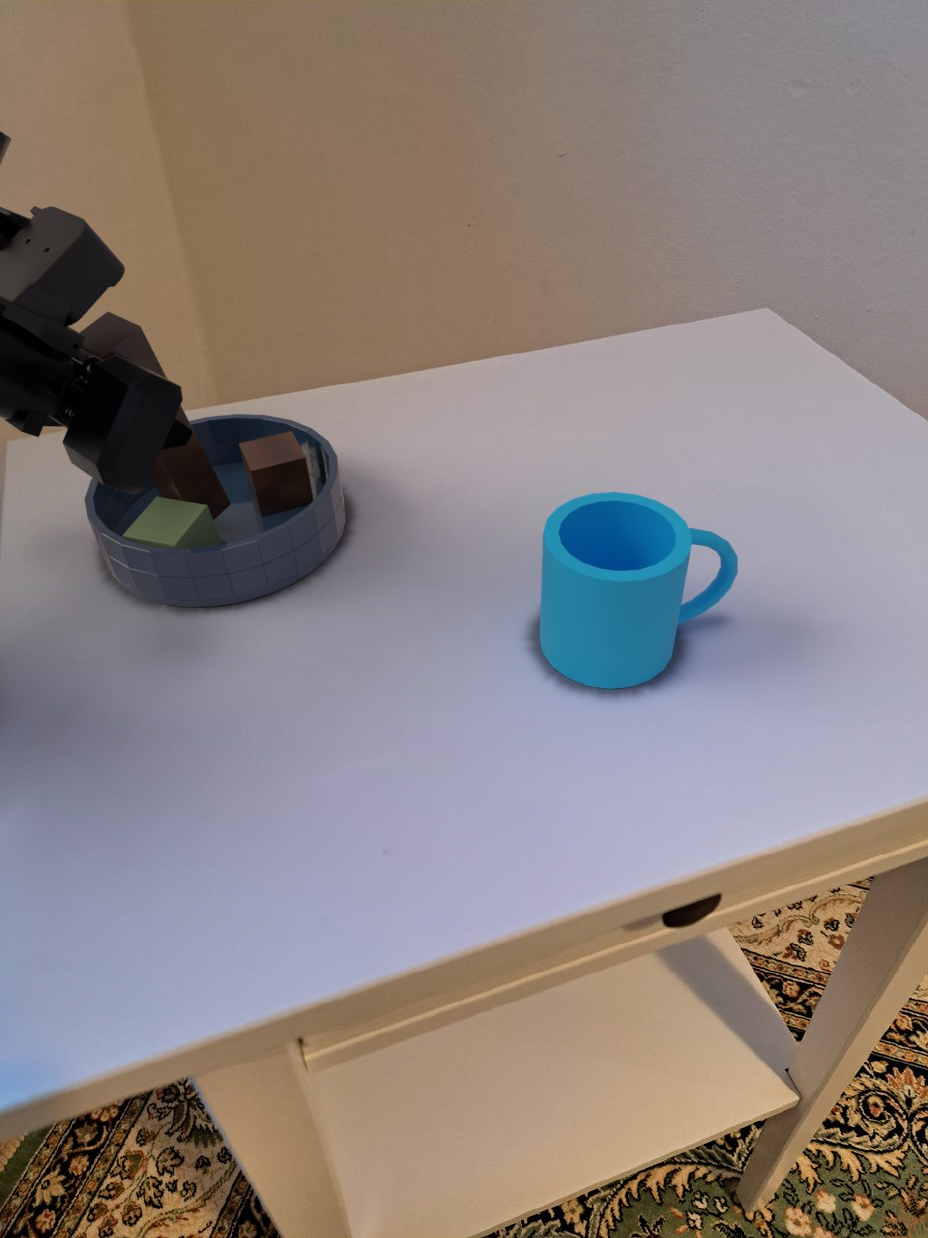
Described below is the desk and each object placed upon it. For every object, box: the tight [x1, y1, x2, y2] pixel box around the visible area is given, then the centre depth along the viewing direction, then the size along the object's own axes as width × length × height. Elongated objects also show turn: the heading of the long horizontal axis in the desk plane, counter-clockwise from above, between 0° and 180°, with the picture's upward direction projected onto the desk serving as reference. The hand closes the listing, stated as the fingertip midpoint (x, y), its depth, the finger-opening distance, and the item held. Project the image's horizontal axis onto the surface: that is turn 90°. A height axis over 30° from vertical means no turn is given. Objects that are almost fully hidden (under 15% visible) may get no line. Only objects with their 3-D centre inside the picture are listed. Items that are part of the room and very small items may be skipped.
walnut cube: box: [239, 431, 313, 516], centre depth 65 cm, size 4×4×4 cm
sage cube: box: [123, 497, 223, 549], centre depth 58 cm, size 4×4×4 cm
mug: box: [539, 491, 739, 690], centre depth 52 cm, size 12×8×8 cm
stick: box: [78, 311, 231, 521], centre depth 56 cm, size 3×3×15 cm
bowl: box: [84, 413, 347, 608], centre depth 63 cm, size 17×17×4 cm
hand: (173, 428), depth 57 cm, fingers closed on stick, 3 cm apart
